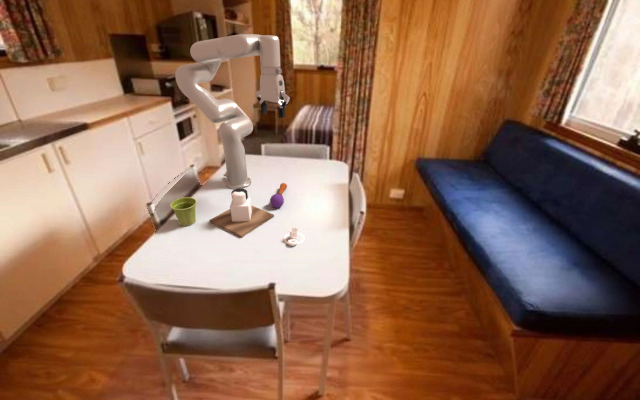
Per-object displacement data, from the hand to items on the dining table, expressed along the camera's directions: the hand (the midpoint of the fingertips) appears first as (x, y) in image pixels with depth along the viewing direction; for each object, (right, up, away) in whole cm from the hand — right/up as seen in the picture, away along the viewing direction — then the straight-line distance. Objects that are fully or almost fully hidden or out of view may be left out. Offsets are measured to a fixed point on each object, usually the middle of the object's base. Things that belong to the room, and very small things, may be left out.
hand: (273, 115), depth 128 cm
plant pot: (-33, -44, -6) cm, 55 cm away
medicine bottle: (-12, -42, -3) cm, 44 cm away
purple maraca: (+1, -35, +13) cm, 37 cm away
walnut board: (-12, -43, -3) cm, 45 cm away
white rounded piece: (+7, -51, -15) cm, 53 cm away
